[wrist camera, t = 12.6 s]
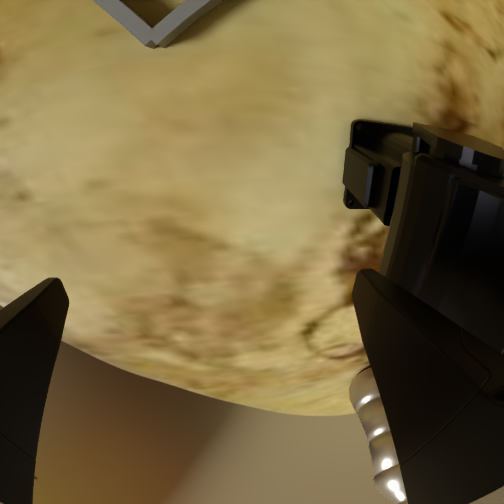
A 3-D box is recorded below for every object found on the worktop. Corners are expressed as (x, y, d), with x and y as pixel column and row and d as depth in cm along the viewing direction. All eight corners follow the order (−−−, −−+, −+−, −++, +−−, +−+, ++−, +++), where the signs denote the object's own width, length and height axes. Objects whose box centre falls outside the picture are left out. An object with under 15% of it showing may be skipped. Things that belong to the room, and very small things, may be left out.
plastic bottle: (335, 387, 35) (369, 529, 18) (367, 355, 31) (419, 512, 15) (370, 390, 36) (408, 516, 19) (402, 360, 33) (454, 495, 16)
